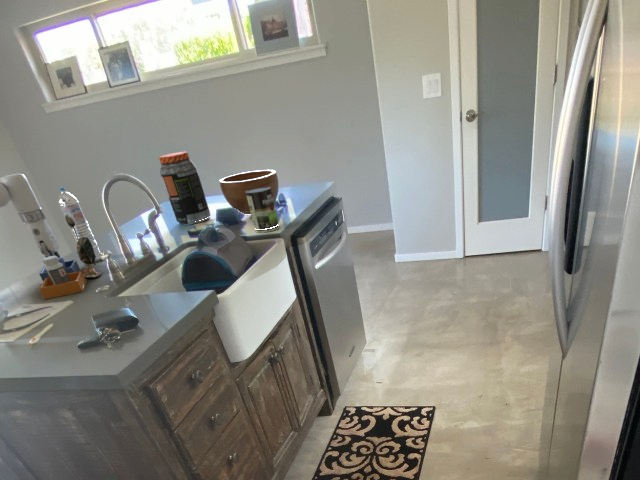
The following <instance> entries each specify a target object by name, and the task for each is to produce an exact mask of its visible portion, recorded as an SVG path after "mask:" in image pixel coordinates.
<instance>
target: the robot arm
mask: <svg viewBox="0 0 640 480" xmlns="http://www.w3.org/2000/svg"><path fill="white" fill-rule="evenodd" d="M10 201H11V204H12V205H13V206H14V208H15V210H16V212H17V215H18V216H19V218H20V220H21V222H22V224H23V225H26V226H27V228H28V231H29V232H30V235H31V237H32V239H33V241H34V243H35V245H36V247H37V248H38V250H39V252H40V254H41V255H43V256H44V258H46V257H50V256H57V257H61V255H60V253H59V251H58V250H59V248H60V244H59V242H58V240H57V239H56V237H55V234H54V233H53V231H52V229H51V228H50V225H49V224H48V222H47V217H46V215H45V213H44V211H43V209H42V207H41V204H40V202H39V201H38V198H37V196H36V195H35V192H34V191H33V189H32V187H31V184H30V182H29V181H28V179H27V177H26V176H25V174H23V173H13V174H8V175H7V174H6V175H5V176H2V177H0V208H4V207H6V206H7V205H8V204H9V202H10Z"/></svg>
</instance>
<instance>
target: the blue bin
mask: <svg viewBox="0 0 640 480" xmlns="http://www.w3.org/2000/svg"><path fill="white" fill-rule="evenodd" d="M64 262H65V264H66V266H67V268H65V270H66V272H67V274H69V273H74V272H79V271H81V268H80V266H79V264H78V261H77V259H71V260H67V261H64ZM45 267H46V265H44V266H43V267H42V269H41V270H40V271H39V273H38V274H39V276H40V278H41V280H42V282H43V281H44V280H45V278H49V275H48V273H47V271H46V269H45Z"/></svg>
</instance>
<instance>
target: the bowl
mask: <svg viewBox="0 0 640 480" xmlns="http://www.w3.org/2000/svg"><path fill="white" fill-rule="evenodd" d="M219 185H220V186H219V187H220V190H221V192H222V195H223V197H224V199H225V200H226V202H227V203H228V205H230V206H231V208H232V209H234V208H236V209H238V210H239V211H240V212H242V213H244V214H251V212H250V208H249V204H248V200H247V196H246V193H245V192H246V191H247V190H250V189H254V188H259V187H271V189H272V195H273V200H274V204H275V203H276V201H277V198H278V196H279V187H280V186H279V178H278V174H277V171H276V170H274V169H261V170H260V169H258V170H252V171H245V172H240V173H236V174H232V175H228V176H225V177H223V178H221V179H219ZM240 212H239V213H240ZM242 213H241V214H242ZM244 214H243V215H244Z"/></svg>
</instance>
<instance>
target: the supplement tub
mask: <svg viewBox="0 0 640 480" xmlns="http://www.w3.org/2000/svg"><path fill="white" fill-rule="evenodd" d="M158 159H159V163H160V165H161V166H160V169H159V174H160V177H161V180H162V182H163V185H164V188H165V191H166V195H167V197H168V200H169V203H170V206H171V208H172V211H173V214H174V217H175V220H176V222H177V223H178V222H179V223H178V224H180V225H183V226H186V225H187V226H188V225H194V224H199V223H202V222H205V221H207V220H209V219H210V218H211V211H210V208H209V205H208V201H207V198H206V195H205V192H204V188H203V184H202V182H201V179H200V175H199V171H198V168H197V166H196V165H195V163H194V162H193V161H192V160H191V158H190V156H189V153H188V151H177V152H173V153H166V154H163V155H160V156H159V157H158ZM209 216H210V217H209ZM207 217H209V218H207ZM205 218H207V219H205ZM202 219H204V220H202ZM199 220H201V221H199ZM195 221H196V222H195Z"/></svg>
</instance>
